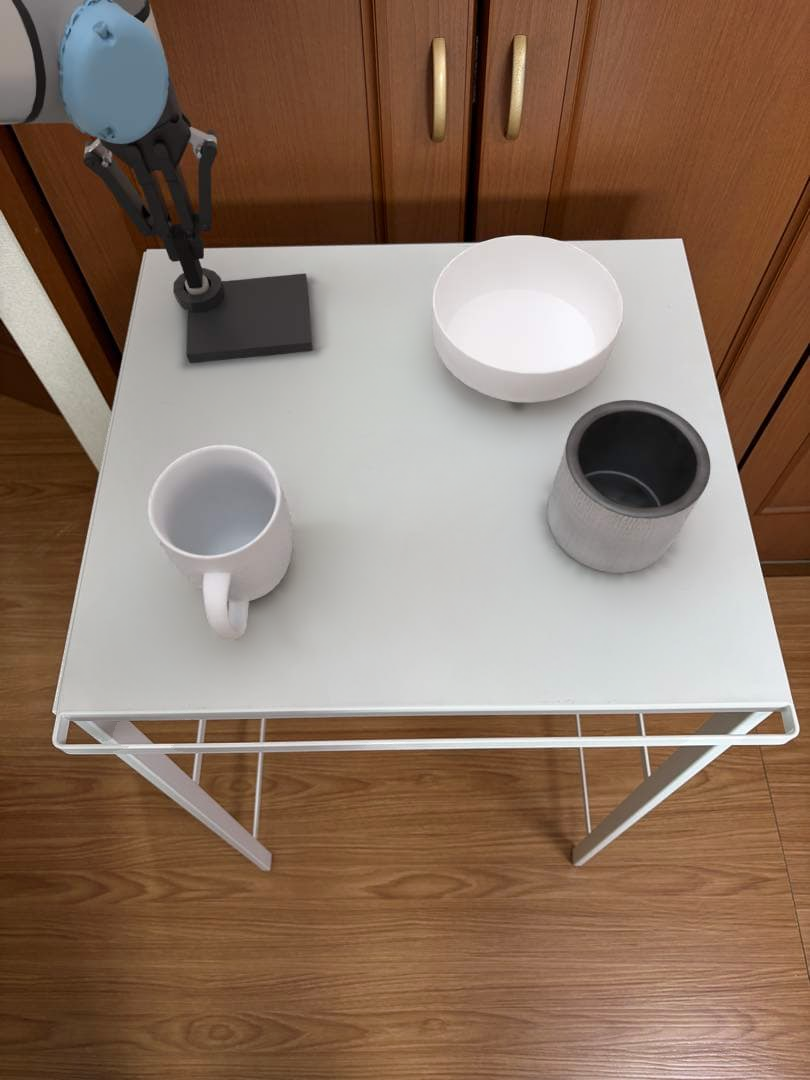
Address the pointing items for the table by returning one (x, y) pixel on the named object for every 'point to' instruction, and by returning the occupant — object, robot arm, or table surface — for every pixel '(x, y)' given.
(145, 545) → the table surface
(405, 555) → the table surface
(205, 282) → the button
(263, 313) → the scale
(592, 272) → the bowl
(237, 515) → the mug
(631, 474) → the planter
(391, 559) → the table surface
